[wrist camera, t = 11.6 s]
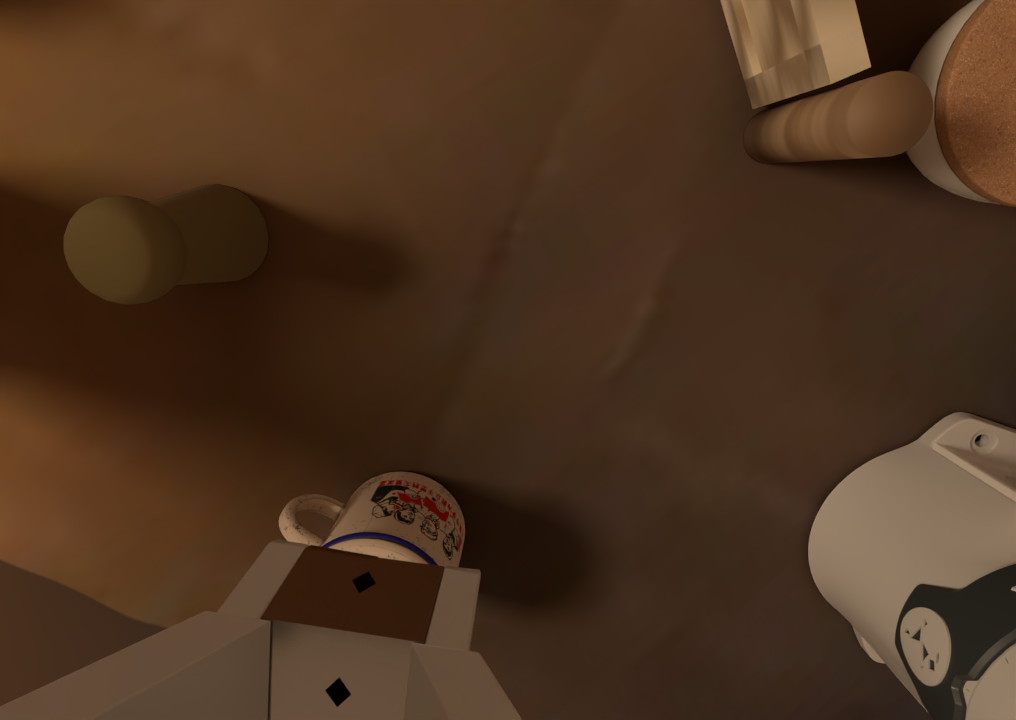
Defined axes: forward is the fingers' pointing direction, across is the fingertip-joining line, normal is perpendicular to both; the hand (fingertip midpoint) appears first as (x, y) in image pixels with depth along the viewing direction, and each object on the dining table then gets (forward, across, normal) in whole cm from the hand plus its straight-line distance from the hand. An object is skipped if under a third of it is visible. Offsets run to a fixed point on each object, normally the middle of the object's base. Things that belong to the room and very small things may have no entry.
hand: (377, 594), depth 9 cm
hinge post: (+31, +14, +10) cm, 36 cm away
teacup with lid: (+31, -6, -18) cm, 37 cm away
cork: (+31, -18, 0) cm, 36 cm away
